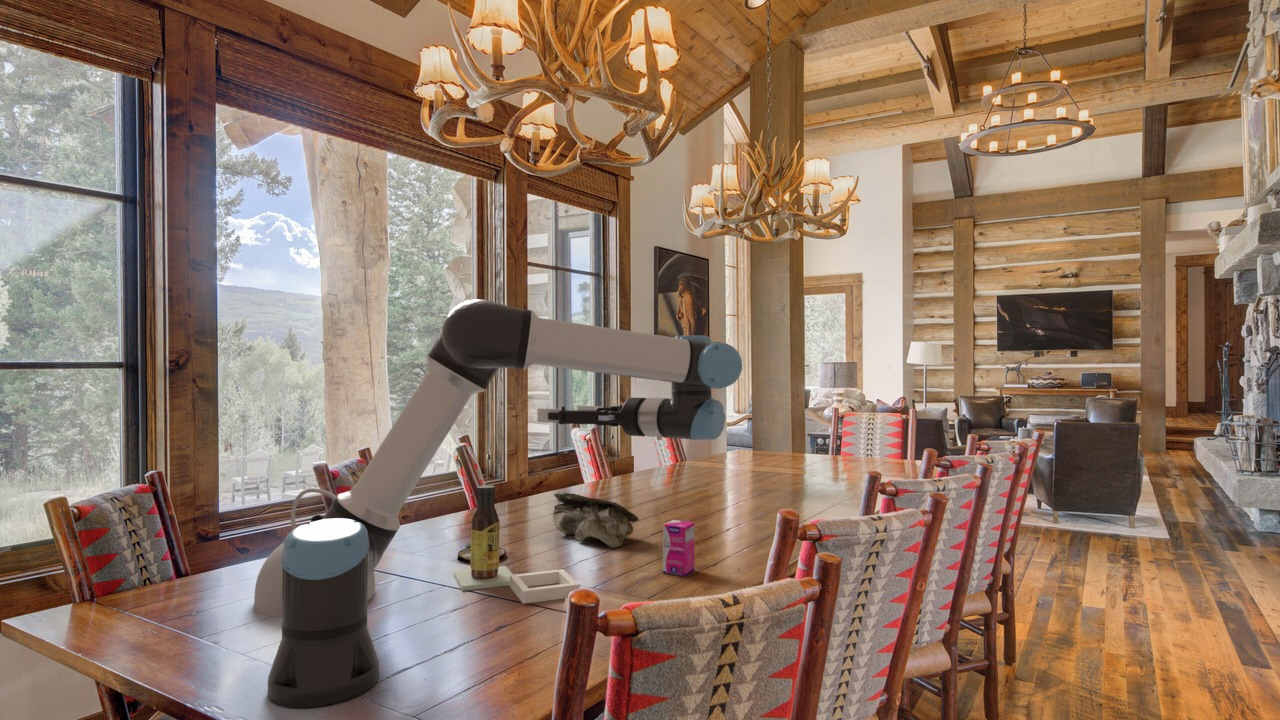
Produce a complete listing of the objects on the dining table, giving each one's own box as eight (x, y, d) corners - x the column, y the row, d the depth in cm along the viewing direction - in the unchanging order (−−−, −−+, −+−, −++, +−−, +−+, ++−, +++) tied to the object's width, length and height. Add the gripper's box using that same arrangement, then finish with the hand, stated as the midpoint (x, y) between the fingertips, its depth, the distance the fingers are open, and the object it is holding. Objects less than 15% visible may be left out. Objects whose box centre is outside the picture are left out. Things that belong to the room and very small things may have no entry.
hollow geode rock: (555, 548, 203) (526, 516, 196) (578, 512, 210) (551, 480, 203) (625, 563, 184) (596, 528, 177) (648, 523, 191) (621, 488, 184)
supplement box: (661, 573, 162) (662, 524, 162) (672, 567, 167) (673, 519, 167) (684, 577, 159) (685, 526, 159) (695, 570, 164) (695, 521, 164)
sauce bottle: (492, 580, 152) (492, 489, 152) (465, 578, 153) (466, 488, 154) (503, 572, 159) (504, 484, 159) (478, 570, 160) (478, 483, 160)
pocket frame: (523, 603, 140) (523, 591, 140) (509, 586, 151) (509, 575, 151) (579, 596, 145) (579, 584, 145) (562, 580, 156) (562, 569, 156)
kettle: (406, 594, 146) (407, 486, 147) (306, 628, 127) (308, 504, 127) (330, 576, 159) (331, 477, 159) (229, 604, 139) (231, 491, 140)
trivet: (462, 591, 148) (462, 586, 148) (453, 575, 159) (453, 571, 159) (517, 584, 153) (517, 579, 153) (505, 569, 164) (505, 565, 164)
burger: (447, 562, 171) (448, 532, 171) (474, 551, 182) (474, 522, 182) (490, 567, 167) (491, 536, 167) (515, 555, 178) (515, 526, 178)
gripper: (611, 441, 125) (520, 435, 136) (676, 431, 146) (592, 427, 157) (611, 400, 125) (520, 397, 136) (676, 396, 146) (592, 394, 157)
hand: (559, 413), depth 146 cm, fingers open, 13 cm apart
